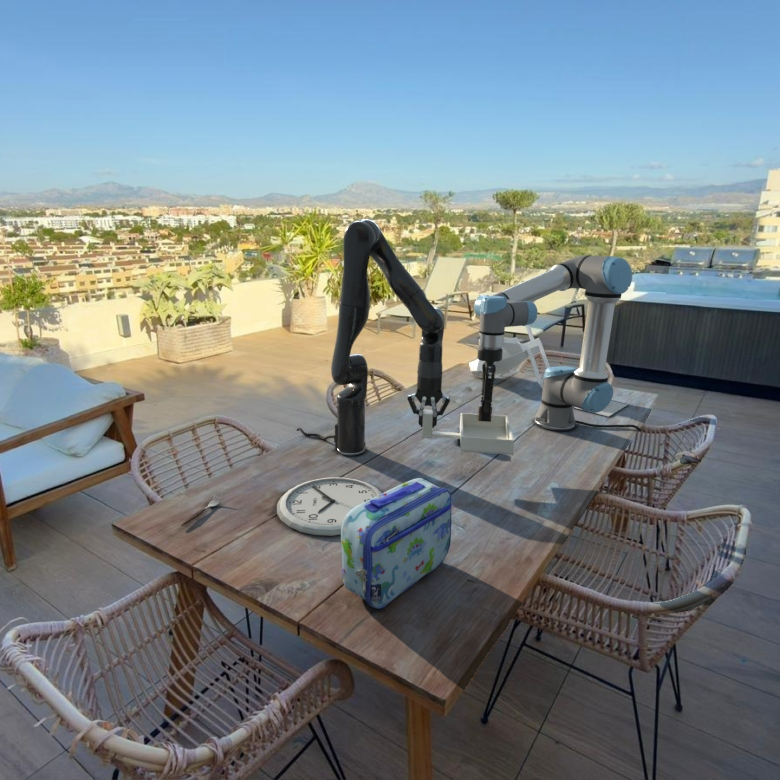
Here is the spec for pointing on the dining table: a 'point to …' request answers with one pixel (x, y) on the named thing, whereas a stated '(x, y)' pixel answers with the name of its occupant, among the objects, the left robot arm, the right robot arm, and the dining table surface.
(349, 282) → the left robot arm
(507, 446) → the tray
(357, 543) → the lunch box
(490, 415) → the walnut block
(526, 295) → the right robot arm
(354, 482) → the wall clock
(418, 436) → the dining table surface
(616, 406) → the invitation card
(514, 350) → the white plastic object
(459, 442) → the charcoal block
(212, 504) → the fork
